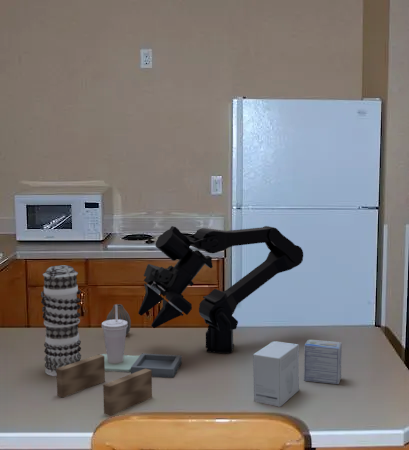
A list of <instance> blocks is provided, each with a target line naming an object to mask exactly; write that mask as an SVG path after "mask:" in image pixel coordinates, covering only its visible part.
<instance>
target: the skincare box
mask: <svg viewBox="0 0 409 450" xmlns="http://www.w3.org/2000/svg"><path fill="white" fill-rule="evenodd" d="M299 347H300V345H299V344H298V343H297V344H296V343H290V342H283V341H276V340H275V341H274V340H273V341H271V342H270V343H269V344H267V345H265V346H263V348H260V349H259V350H258V351H256V352H255V353H253V355H252V357H253V364H252V365H253V367H252V368H253V402H256V403H259V404H260V403H261V404H266V405H271V406H275V407H279V408H280V407H281V406H283V405H284V404H285V403H286V402H288V400H290V399H291V398H292V397H293V396H294V395H295V394H297V393H298V392H299V391H300V376H299V375H300V368H299V366H300V365H299V364H300V363H299V356H300V355H299V352H300V351H299Z"/></svg>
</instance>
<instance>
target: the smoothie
mask: <svg viewBox="0 0 409 450" xmlns="http://www.w3.org/2000/svg"><path fill="white" fill-rule="evenodd" d="M114 305H115V319H113V320H107V321H106V320H104V321H103V322H101V329H102V332H103V338H104V345H105V351H106V354H107V359H108V362H109V363H113V364H116V363H121V362H123V357H124V355H125V346H126V345H125V344H126V337H127V335H126V328H127V327H128V322H127V321H125V320H120V319H118V307H117V305H116V304H114Z"/></svg>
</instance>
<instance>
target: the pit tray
mask: <svg viewBox="0 0 409 450" xmlns="http://www.w3.org/2000/svg"><path fill="white" fill-rule="evenodd" d="M138 356H139V358H138V359H137V360H136V362H135V363H134V364H133V365H132V367H131V371H130V374H132V373H135V372H138V371H140V370H143V369H145V368H146V369H149V370H152V378H154V377H155V378H174V377H175V376H176V374H177V372H178V371H179V369H180V367H181V365H182V360H183V359H182V357H183V356H182V355H179V354H161V353H141V354H140V355H138Z"/></svg>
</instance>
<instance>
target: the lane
mask: <svg viewBox="0 0 409 450" xmlns="http://www.w3.org/2000/svg"><path fill="white" fill-rule="evenodd" d="M56 371H57V376H56V392H57V393H56V396H58V397H61V398H65V397H67V396H71V395H73V394H75V393H79V392H81V391H84V390H86V389H88V388H91V387H94V386H97V385H100V384H102V383H104V382H106V380H105V379H106V375H105V374H106V373H105V372H106V371H105V365H104V356H103V355H101V354H96V355H93V356H90V357H87V358H84V359H80V361H77V362H75V363H72V364H69V365H66V366H63V367H60V368H57V369H56ZM152 378H153V377H152V370H149V369H146V368H145V369H143V370H140V371H138V372H135V373H132V374H131V373H130V374H127V375H125V376H122V377H119V378H117V379H115V380H112V381H109V382H107V383H104V384H103V386H102V387H103V389H102V391H103V414H105V415H107V416H113V415H115V414H118V413H121V412H123V411H124V410H127V409H130V408H132V407H133V406H136V405H138V404H140V403H143V402H144V401H147V400H149V399H152V398H153V379H152Z"/></svg>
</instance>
